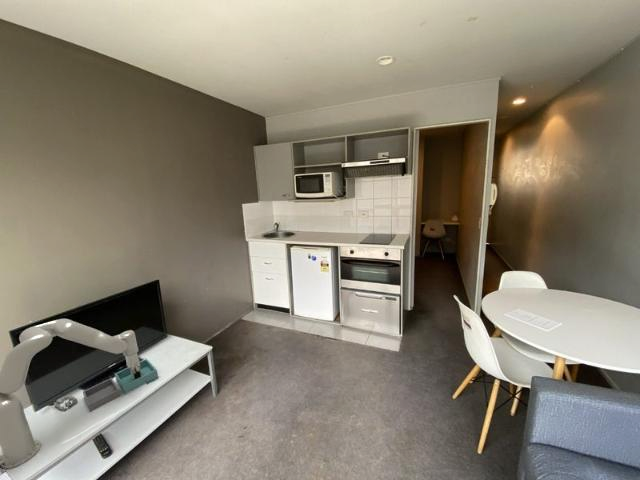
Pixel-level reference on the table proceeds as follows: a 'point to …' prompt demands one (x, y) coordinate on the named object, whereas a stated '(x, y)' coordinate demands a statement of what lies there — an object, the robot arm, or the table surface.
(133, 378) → the stone block
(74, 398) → the egg carton
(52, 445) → the table surface
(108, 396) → the bin
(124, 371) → the bin
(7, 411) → the robot arm
